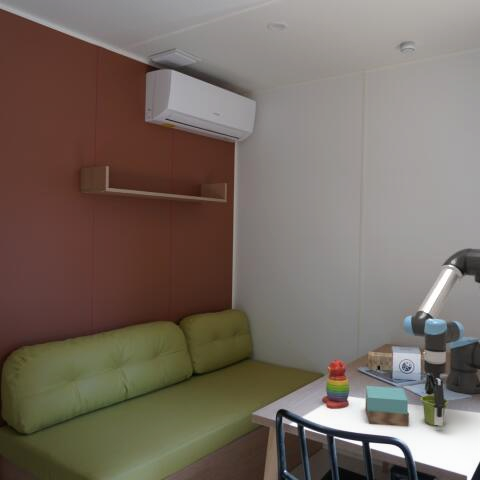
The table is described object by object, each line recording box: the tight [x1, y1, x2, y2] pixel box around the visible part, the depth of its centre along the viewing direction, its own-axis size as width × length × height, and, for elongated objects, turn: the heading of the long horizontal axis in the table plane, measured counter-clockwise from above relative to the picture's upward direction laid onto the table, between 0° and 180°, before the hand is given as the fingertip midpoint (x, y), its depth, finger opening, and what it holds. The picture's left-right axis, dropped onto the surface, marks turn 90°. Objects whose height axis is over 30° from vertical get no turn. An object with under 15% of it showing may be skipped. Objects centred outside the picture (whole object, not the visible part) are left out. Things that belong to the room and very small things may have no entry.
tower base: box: [364, 400, 410, 427], centre depth 188 cm, size 14×14×5 cm
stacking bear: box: [321, 359, 350, 410], centre depth 203 cm, size 11×10×18 cm
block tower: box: [367, 351, 426, 375], centre depth 254 cm, size 8×8×29 cm
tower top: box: [365, 385, 409, 414], centre depth 188 cm, size 14×14×5 cm
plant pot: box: [420, 395, 449, 426], centre depth 184 cm, size 9×9×9 cm
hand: (433, 418), depth 184 cm, fingers open, 13 cm apart
